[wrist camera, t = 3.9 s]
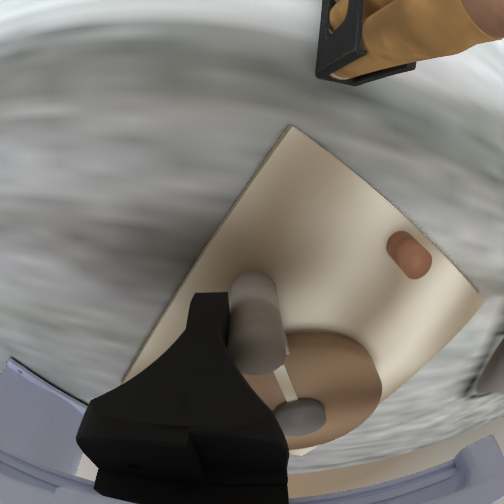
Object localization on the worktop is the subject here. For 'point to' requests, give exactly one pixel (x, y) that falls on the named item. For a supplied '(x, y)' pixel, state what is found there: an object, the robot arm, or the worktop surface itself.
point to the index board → (329, 265)
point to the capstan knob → (299, 368)
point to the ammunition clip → (399, 34)
